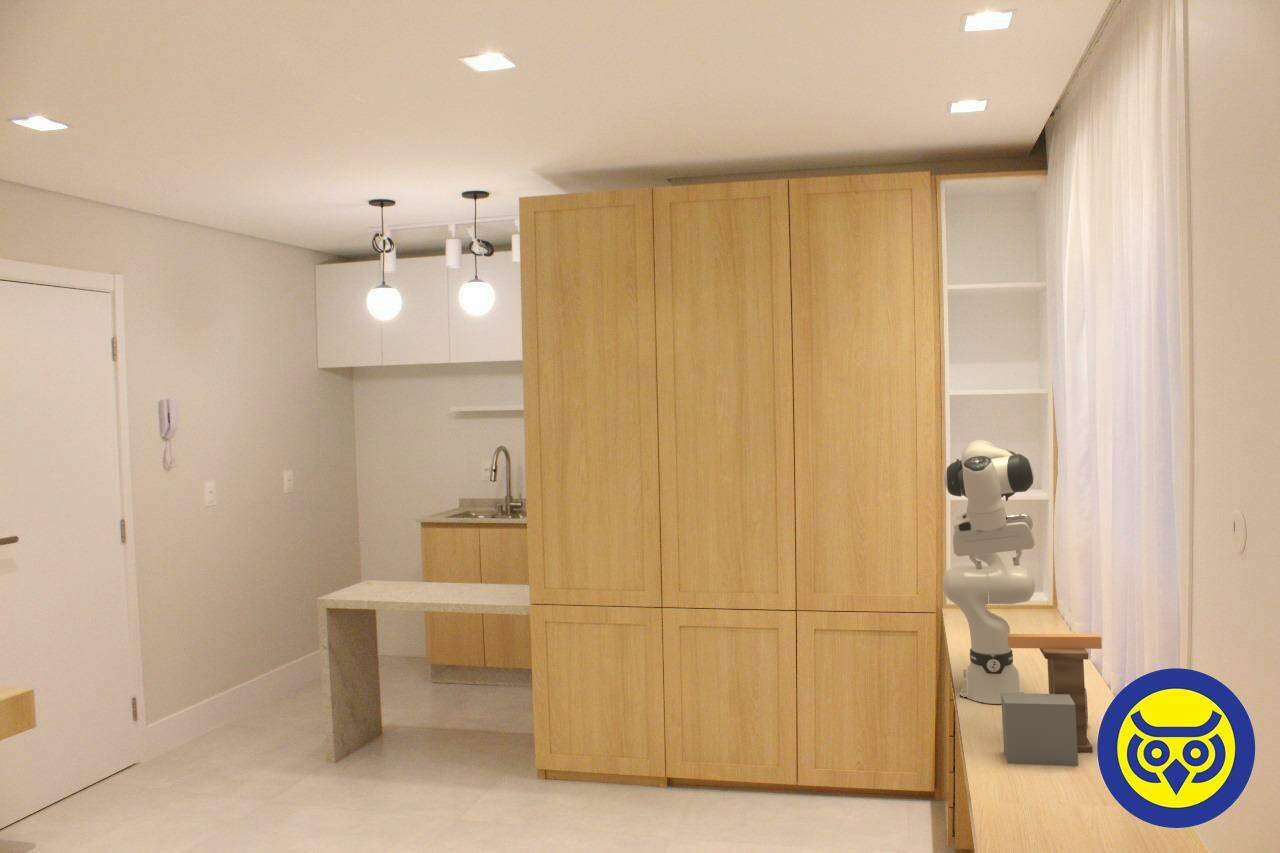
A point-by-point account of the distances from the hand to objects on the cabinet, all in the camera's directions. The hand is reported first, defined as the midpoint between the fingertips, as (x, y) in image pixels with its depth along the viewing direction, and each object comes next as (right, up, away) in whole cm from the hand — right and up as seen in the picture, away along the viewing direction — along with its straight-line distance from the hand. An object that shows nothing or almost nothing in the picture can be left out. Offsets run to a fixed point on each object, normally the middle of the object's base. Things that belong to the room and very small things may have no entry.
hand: (997, 566), depth 256 cm
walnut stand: (+15, -44, -8) cm, 47 cm away
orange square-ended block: (+11, -19, -8) cm, 24 cm away
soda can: (+22, -44, +4) cm, 49 cm away
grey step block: (+4, -45, -16) cm, 48 cm away
